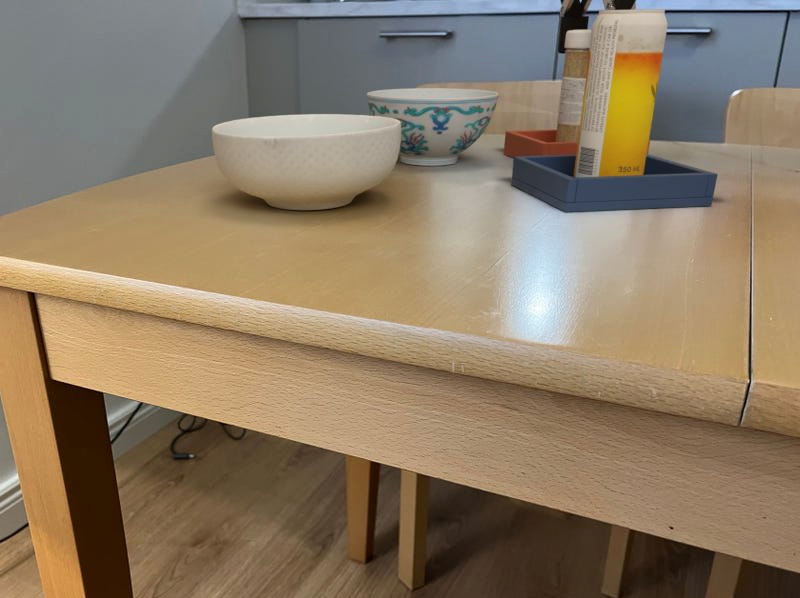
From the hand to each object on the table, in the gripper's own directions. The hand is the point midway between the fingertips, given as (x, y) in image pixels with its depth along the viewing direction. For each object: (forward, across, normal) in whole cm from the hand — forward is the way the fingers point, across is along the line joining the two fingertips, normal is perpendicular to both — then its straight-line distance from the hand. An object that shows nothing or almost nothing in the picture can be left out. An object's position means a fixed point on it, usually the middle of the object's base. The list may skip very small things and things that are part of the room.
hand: (590, 54), depth 85 cm
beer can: (+11, -20, +7) cm, 24 cm away
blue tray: (+12, -20, +7) cm, 24 cm away
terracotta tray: (+12, 0, +1) cm, 12 cm away
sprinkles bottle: (+11, 0, +1) cm, 11 cm away
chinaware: (+12, +2, +18) cm, 21 cm away
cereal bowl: (+12, -18, +35) cm, 41 cm away
